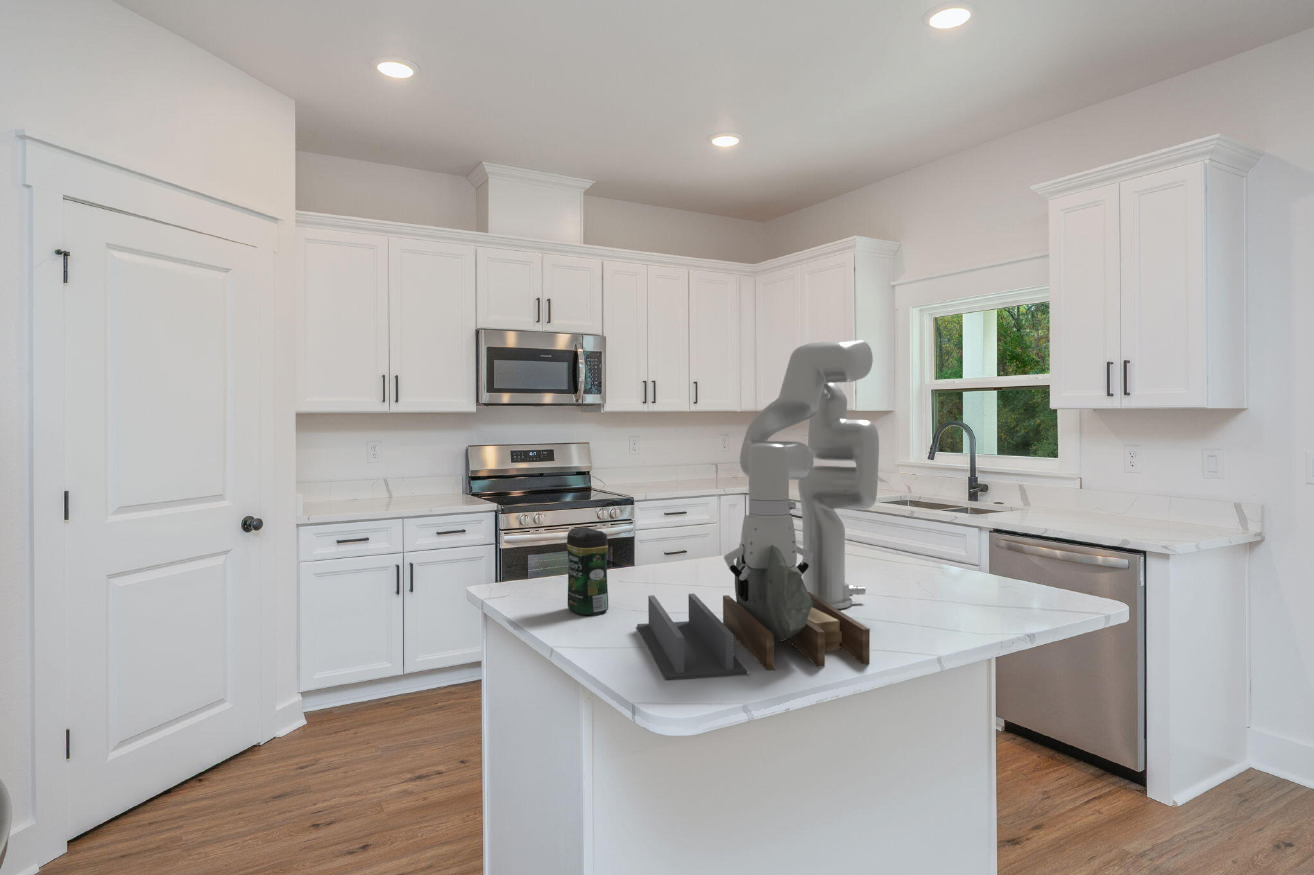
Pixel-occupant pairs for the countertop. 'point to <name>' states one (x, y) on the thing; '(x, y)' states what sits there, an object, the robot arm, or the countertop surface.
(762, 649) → the walnut rack
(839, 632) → the offcut
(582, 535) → the coffee jar
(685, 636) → the slab stand
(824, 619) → the offcut
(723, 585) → the countertop surface
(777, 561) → the rock
